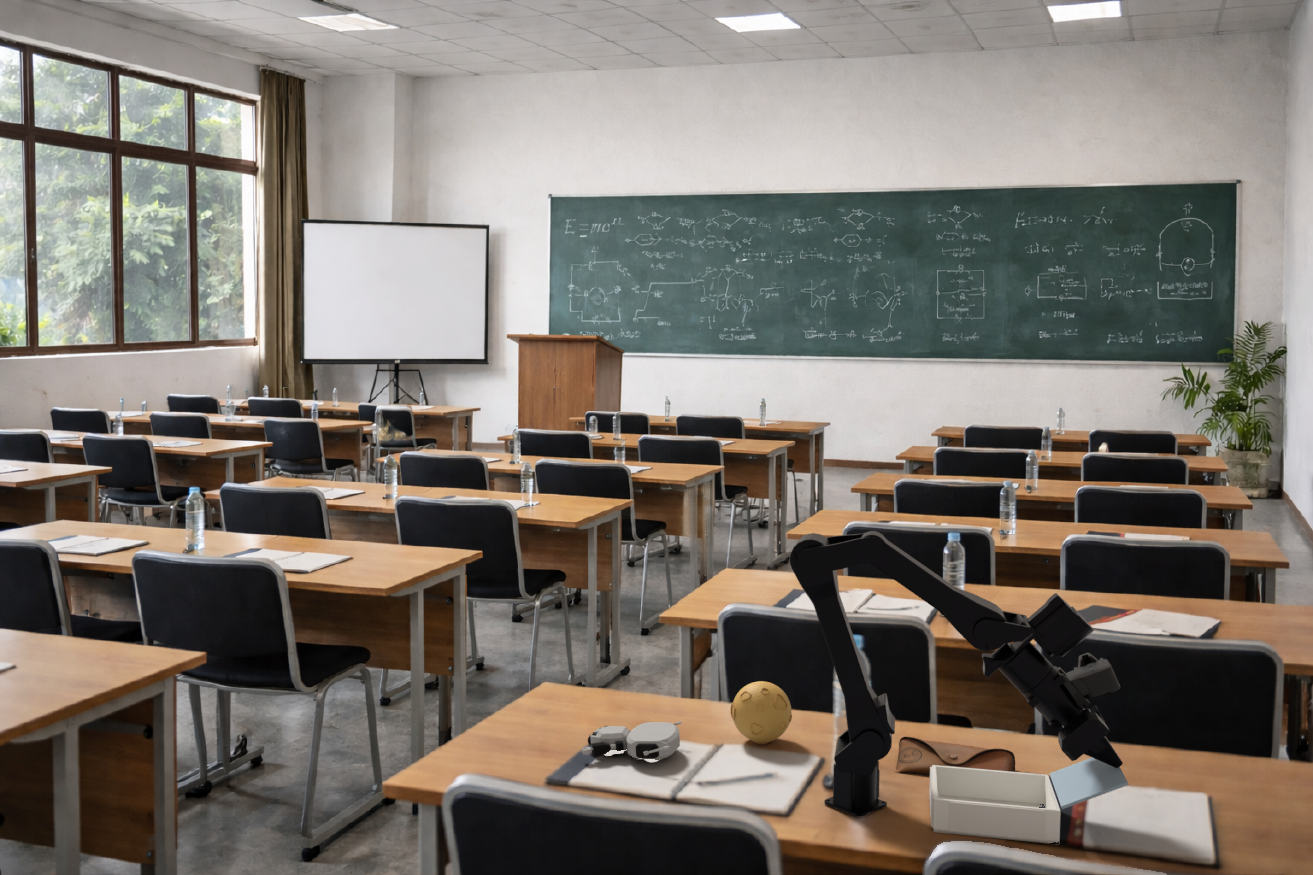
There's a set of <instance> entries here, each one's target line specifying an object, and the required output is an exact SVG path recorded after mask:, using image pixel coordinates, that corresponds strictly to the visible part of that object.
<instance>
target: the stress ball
mask: <svg viewBox="0 0 1313 875" xmlns="http://www.w3.org/2000/svg"><path fill="white" fill-rule="evenodd" d="M730 717H731V719H732V721H733V723H734V725H735V728H736V730H737V731H738V732H739V733H740V734H741V735H742V736H743V737H745V738H746V739H747V740H750V741H751V742H753V743H754V744H757V745H767V744H769V743H770V742H773V741H775V740H777V739H779V738H780V737H781V736H782V735H783V734H784V733H785V732H786V731H787V730H788V727H789V726H790V723H791V722H792V718H793V715H792V706H791V702H790V699H789V697H788V695H787V694H786V692H784V690H783V689H782V688H780V687H779V686H778V685H777V684H774V683H772V682H768V681H763V680H761V681H760V680H759V681H755V682H750V683H748V684H746V685H745V686H743V687H742V688H741V689H739V691H738V692H737V694H736V695H735V697H734V699H733V702H731V705H730Z"/></svg>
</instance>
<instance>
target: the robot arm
mask: <svg viewBox="0 0 1313 875" xmlns="http://www.w3.org/2000/svg"><path fill="white" fill-rule="evenodd" d="M789 564H790V565H789V566H790V567H791V570H792V572H793V574H794V575H795V577H796V579H797V581H798V583H799V585H800V586H801V588H802V590H803V591H804V593H805V595H806V596H807V597H808V599H809V600H810V602H811V603H812V605H813V608H814V610H815V614H816V616H817V619H818V623H819V624H820V628H821V631H822V635H823V638H824V641H825V644H826V646H827V647H826V648H827V649H828V652H829V655H830V659H831V662H832V664H833V668H834V670H835V674H836V676H837V679H838V682H839V686H840V689H841V692H842V696H843V700H844V703H845V704H844V706H845V716H846V717H845V718H846V725H847V726H846V727H847V729H846V730H845V731H844V732H843V733H841V735H839V736H838V737H837V742H836V746H835V750H834V756H833V760H834V764H833V778H832V779H833V783H832V784H833V785H832V790H833V791H832V796H831V797H828V798H826V799H824V802H823V803H824V804H825V805H827V806H829V807H831V808H834V809H836V810H839V811H842V812H843V813H847V814H849V815H852V816H854V817H856V818H861V817H864V816H867V815H869V814H872V813H874V812H876V811H878V810H879V811H880V810H881V809H883V808H885V807H887V805H888V802H887V801H884V800H883V799H879V797H880V761H881V760H882V759H884V758H886V757H887V755H888V754H889V752H890V751H891V749H892V744H893V743H892V742H893V735H894V734H895V732H896V729H895V728H896V727H895V726H896V717H895V716H894V714H893V713H892V712H891V710H890V706H889V700H888V696H887V695H888V694H887V693H883V694H879V695H877V694H876V692H875V691H874V689H873V688H872V686H871V683H870V682H869V679H868V675H867V673H866V669H865V667H864V664H863V661H862V658H861V655H860V652H859V649H858V644H857V643H856V640H855V635H854V634H853V630H852V629H851V625H850V623H849V619H848V615H847V613H846V610H845V607H844V603H843V601H842V598H841V594H840V588H839V580H838V571H841V570H843V569H848V568H851V567H856V566H860V565H865V564H871V565H872V566H874V567H875V568H876V569H878V570H880V572H882V573H884V575H887V576H888V577H889V578H891V579H892V580H894V581H895V582H897V583H898V584H899V585H901V586H902V587H904V588H905V589H906V590H908V591H909V592H911V593H912V594H914V595H915V596H917V597H918V598H920V599H921V600H922V601H923V602H925V603H927V605H930V606H931V607H932V608H934V609H935V610H937V611H938V612H939V613H940V614H941V615H942V616H943V617H944V618H945V619H946V620H947V622H949V624H951V626H952V627H953V628H954V629H955V631H957V632H958V634H960V636H961V637H963V638H964V639H965V640H966V642H968V644H970V645H971V646H972V647H973V648H974V649H976V650H979V651H982V654H981V658H982V661H983V662H982V671H983V675H984V677H985V678H990V677H991V676H992V675H993V674H994V673H995V672H996V671H998V670H999V671H1000V672H1001V674H1002V675H1003V676H1005V678H1006V679H1007V680H1008V681H1009V682H1010V683H1011V684H1012V685H1013V687H1014V688H1016V689H1017V690H1018V691H1019V693H1020V694H1022V696H1023V697H1024V698H1025V700H1026V702H1027V704H1028V705H1029V706H1030V707H1031V708H1032V709H1034V708H1035V709H1036V710H1037V711H1038V712H1039V714H1040V715H1041V716H1043V718H1045V720H1046V721H1047V723H1048V726H1049V727H1050V728H1051V729H1052V730H1053V731H1054V732H1056V731H1057V730H1058V729H1060V728H1062V729H1061V730H1060V731H1059V732H1058V739H1057V740H1058V741H1057V742H1058V744H1059V747H1060V750H1061V751H1062V752H1063V753H1064V754H1065V756H1067V757H1068V759H1069V760H1070V761H1071V762H1074V761H1077V760H1078V759H1079V758H1080V757H1081V756H1083V755H1085V756H1087V757H1089V758H1094V759H1097V760H1099V761H1101V762H1104V763H1106V764H1108V765H1110V766H1113V767H1115V768H1118V767H1120V768H1121V766H1123V765H1124V764H1123V760H1122V759H1121V757H1120V756H1119V754H1118V753H1117V752H1116V750H1115V748H1114V747H1113V745H1112V744H1111V742H1110V741H1109V739H1108V738H1107V735H1108V734H1109V732H1110V729H1109V727H1108V725H1107V724H1106V722H1105V719H1104V718H1103V716H1102V714H1101V713H1100V711H1099V708H1098V706H1097V705H1096V704H1095V705H1093V706H1091V707H1090V708H1088V706H1089V705H1091V702H1090V701H1089V700H1088V699H1093V698H1095V697H1099V696H1101V695H1103V694H1104V695H1105V694H1106V693H1109V692H1110V693H1114V692H1117V691H1118V690H1120V689H1121V685H1120V683H1119V680H1118V678H1117V676H1116V673H1115V671H1114V669H1113V667H1112V664H1111V662H1109V660H1108V659H1107V658H1103V657H1101V658H1100V657H1099V660H1098V659H1097V658H1096V657H1095V656H1094V655H1093V654H1092V653H1090V652H1086V653H1083V654H1081V655H1079V656H1078V663H1077V664H1078V665H1077V666H1075V667H1073V670H1070V671H1068V672H1066V671H1064V669H1062V668H1061V667H1060V666H1059V667H1057V666H1056V665H1055V666H1054V665H1053V663H1051V662H1050V661H1049V660H1048V659H1047V658H1046V656H1045V655H1044V654H1042V652H1041V651H1040V650H1038V648H1037V647H1036V646H1035V645H1034V644H1033V643H1032V641H1033V640H1034V642H1036V644H1037V645H1038V646H1039V647H1040V648H1041V649H1042V651H1044V652H1045V654H1047V655H1048V656H1049V657H1053V656H1055V658H1057V657H1058V656H1060V657H1061V658H1063V657H1065V656H1066V655H1067V654H1068V653H1070V652H1071V651H1072V650H1073V649H1075V647H1077V646H1078V645H1079V644H1081V643H1082V642H1083V641H1084V640H1085V639H1086V638H1087V637H1089V636H1090V635H1091V634H1092V633H1094V631H1095V629H1094V628H1093V626H1092V625H1091V624H1090V623H1089V622H1088V621H1087V620H1086V619H1085V618H1084V616H1083V615H1082V614H1081V613H1080V612H1079V611H1078V610H1077V609H1076V608H1075V607H1074V605H1070V604H1069V603H1068V602H1066V601H1065V599H1063V598H1062V597H1061V596H1060V595H1059V593H1056V592H1054V594H1052V595H1051V596H1050V597H1049V598H1048V599H1047V600H1046V602H1045V603H1044V604H1043V605H1041V606H1040V607H1039V608H1037V610H1036V611H1035V612H1033V613H1032V614H1031V615H1030V616H1029V617H1028V616H1027V615H1025V614H1022V613H1017V612H1012V611H1005V610H1002V608H1000V606H998V605H997V604H995V603H994V602H992V601H990V600H987V599H985V598H983V597H982V596H979V595H977V594H975V593H972V592H971V591H970V592H969V591H967V590H963V589H962V588H960V587H957V586H954V585H953V584H951V583H950V582H948V580H946V579H944V578H943V577H941V576H940V575H938V574H937V573H935V572H934V571H933V570H931V569H930V568H929V567H927V566H926V565H924V564H922V562H920V561H918V560H916V559H915V558H914V557H913V556H912V555H910V554H908V553H907V552H905V551H904V550H902V549H901V548H900V547H898V546H897V545H895V544H894V543H892V542H891V541H889V539H887V538H886V537H885V536H884V534H882V533H881V532H878V531H875V530H870V531H867V532H863V533H855V534H842V535H833V536H827V537H826V536H824V535H822V534H821V533H815V532H812V533H807V534H805V535H803V536H801V537H800V538H799V539H798V540H797V541H796V543H795V545H794V546H793V548H792V550H791V552H790V555H789ZM991 651H993V652H991ZM985 652H990V653H985Z"/></svg>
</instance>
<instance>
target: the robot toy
mask: <svg viewBox="0 0 1313 875" xmlns="http://www.w3.org/2000/svg"><path fill="white" fill-rule="evenodd" d="M682 723H683V721H677V722H674V723H672V722H669V721H668V722H667V721H666V722H665V721H662V722H661V721H654V722H653V721H652V722H651V721H650V722H649V721H648V722H643V723H640V724H638V725H637V726H635V727H634V728H632V729H631V730H630V729H628V727H626V726H619V725H605V726H603V727H599V728H597V729H595V730H594V731H592V734H590V735H588V737H587V743H588V745H589V746H584V747H582V748H581V753H582V754H583V755H590V754H592V756H593V755H594V756H593V757H596V756H597V755H598V756H604V755H603V754H606V753H607V752H609V751H610V750H617V751H621V750H626V749H627V751H626V752H627V754H628V755H629V756H630V757H631V756H632V757H631V758H633V757H635V758H642V759H641V760H643V759H655V760H659V759H661V760H663V759H667V758H669V757H670V756H672V755H673V754H674V753H675V752H676V751H677V750H678V748H679V747H680V746H681V739H680V737H681V736H680V728H679V727H678V726H679V725H681V724H682ZM635 758H634V759H635Z"/></svg>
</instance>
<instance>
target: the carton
mask: <svg viewBox="0 0 1313 875" xmlns="http://www.w3.org/2000/svg"><path fill="white" fill-rule="evenodd" d="M1049 776H1050V775H1049V774H1041V773H1033V772H1019V771H1018V772H1017V771H1013V772H1010V771H998V770H986V769H975V768H963V767H951V766H939V765H932V767H930V776H929V790H928V791H929V794H928V795H929V809H930V810H929V811H930V827H931V828H933V829H932V830H933V833H942V834H950V835H960V836H969V837H970V836H971V837H982V838H991V839H1000V840H1001V839H1002V840H1012V841H1021V842H1022V841H1023V842H1031V843H1040V844H1041V843H1042V844H1050V843H1053V842H1056V843H1057V842H1059V843H1060V839H1061V838H1060V837H1061V831H1060V830H1061V807H1060V806H1059V803H1058V802H1059V801H1058V800H1057V797H1056V796H1057V795H1056V792H1054V788H1053V784H1052V781H1051V780H1050V779H1051V778H1050V777H1049ZM1040 804H1041V805H1040ZM1042 804H1044V806H1045V808H1039V807H1042ZM1044 806H1043V807H1044Z"/></svg>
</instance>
